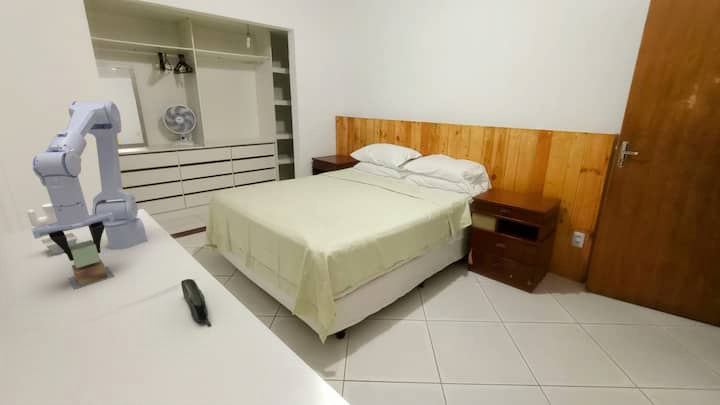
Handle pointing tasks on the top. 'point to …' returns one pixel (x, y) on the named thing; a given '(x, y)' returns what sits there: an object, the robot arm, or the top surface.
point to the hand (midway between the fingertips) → (85, 255)
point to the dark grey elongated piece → (195, 300)
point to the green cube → (84, 253)
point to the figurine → (47, 220)
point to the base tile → (76, 285)
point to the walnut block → (89, 272)
